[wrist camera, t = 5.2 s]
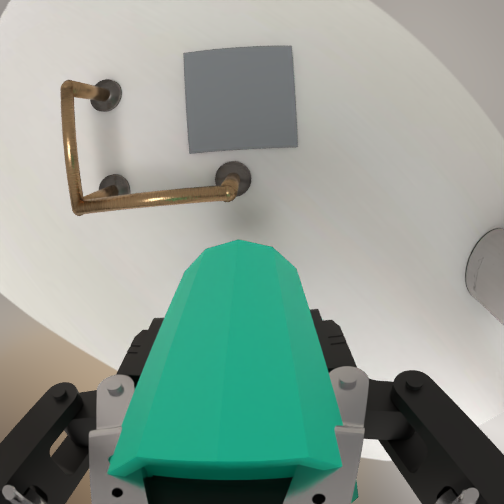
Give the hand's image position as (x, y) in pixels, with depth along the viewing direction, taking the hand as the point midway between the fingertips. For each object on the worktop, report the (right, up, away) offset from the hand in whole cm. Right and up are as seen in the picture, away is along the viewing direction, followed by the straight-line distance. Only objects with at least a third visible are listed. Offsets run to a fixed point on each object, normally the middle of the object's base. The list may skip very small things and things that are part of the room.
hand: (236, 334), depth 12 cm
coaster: (0, +16, +12) cm, 20 cm away
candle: (0, +1, +3) cm, 3 cm away
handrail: (-7, +13, +13) cm, 20 cm away
